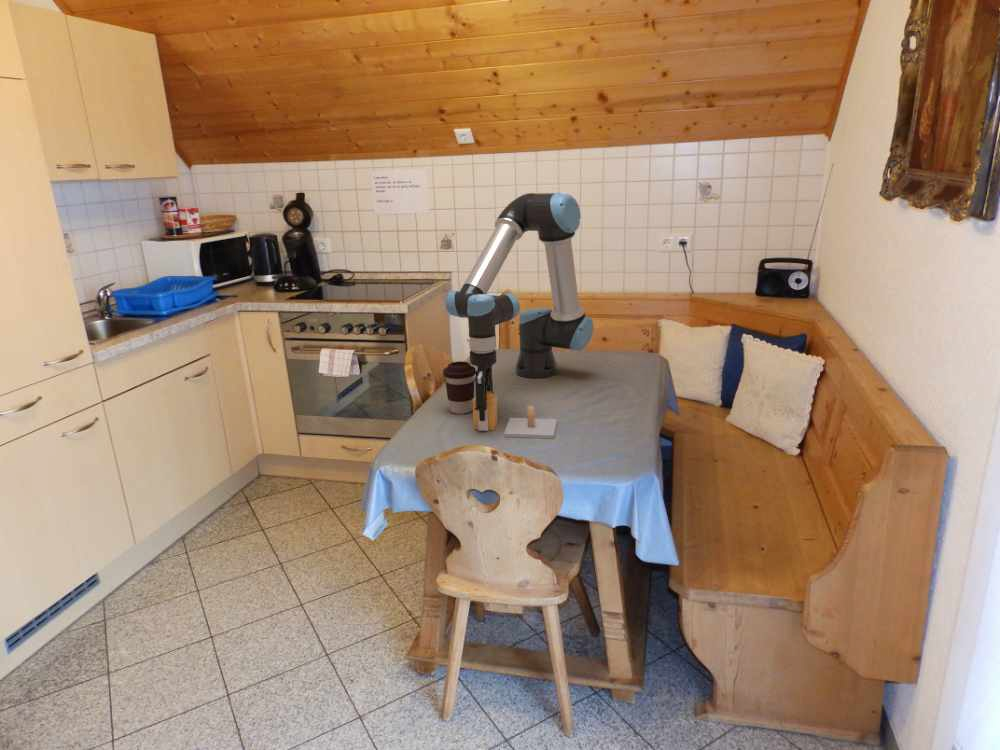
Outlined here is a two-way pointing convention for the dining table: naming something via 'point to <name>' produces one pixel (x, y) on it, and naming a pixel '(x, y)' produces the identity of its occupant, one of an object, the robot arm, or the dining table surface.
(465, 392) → the coffee cup
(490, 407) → the orange toy brick
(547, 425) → the white pegged board
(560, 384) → the dining table surface
